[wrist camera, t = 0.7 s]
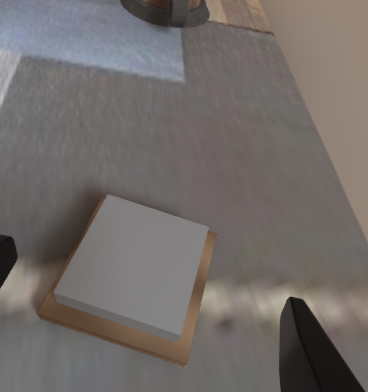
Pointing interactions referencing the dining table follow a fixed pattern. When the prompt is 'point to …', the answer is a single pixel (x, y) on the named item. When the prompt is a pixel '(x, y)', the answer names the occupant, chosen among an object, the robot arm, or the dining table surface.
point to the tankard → (169, 12)
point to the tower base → (125, 334)
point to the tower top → (135, 268)
